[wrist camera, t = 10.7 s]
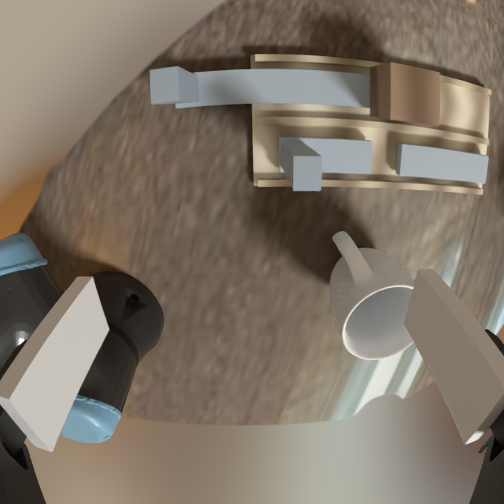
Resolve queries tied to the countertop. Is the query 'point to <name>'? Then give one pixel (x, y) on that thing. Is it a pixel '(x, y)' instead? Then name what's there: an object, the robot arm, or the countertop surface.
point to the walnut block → (405, 93)
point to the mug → (370, 300)
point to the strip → (258, 87)
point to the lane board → (367, 128)
